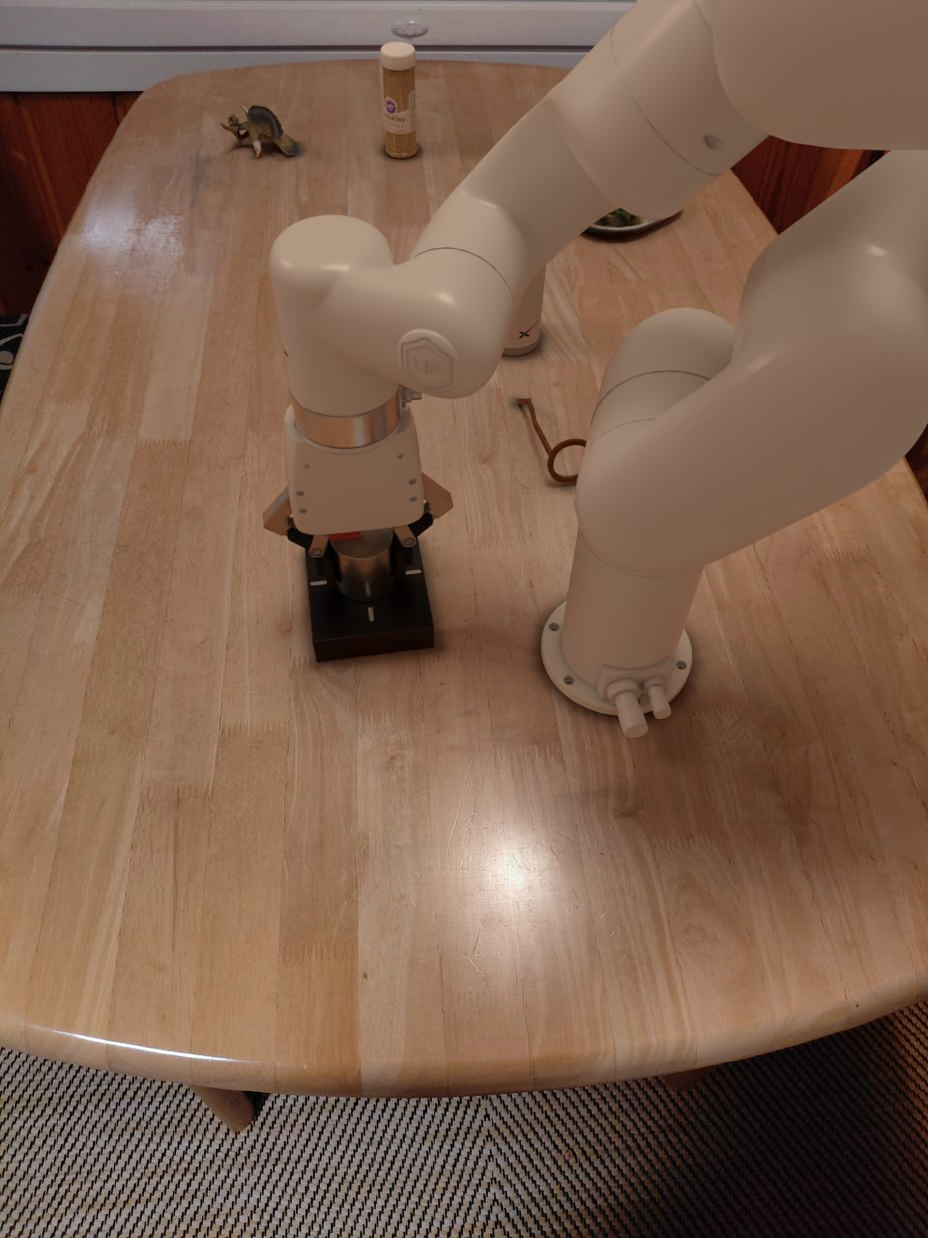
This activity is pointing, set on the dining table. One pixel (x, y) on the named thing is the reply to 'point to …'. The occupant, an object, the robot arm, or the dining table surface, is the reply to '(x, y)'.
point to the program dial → (364, 563)
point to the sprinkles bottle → (399, 98)
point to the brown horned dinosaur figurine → (261, 129)
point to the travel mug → (527, 319)
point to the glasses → (550, 452)
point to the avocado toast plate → (619, 225)
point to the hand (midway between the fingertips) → (365, 570)
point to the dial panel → (370, 616)
